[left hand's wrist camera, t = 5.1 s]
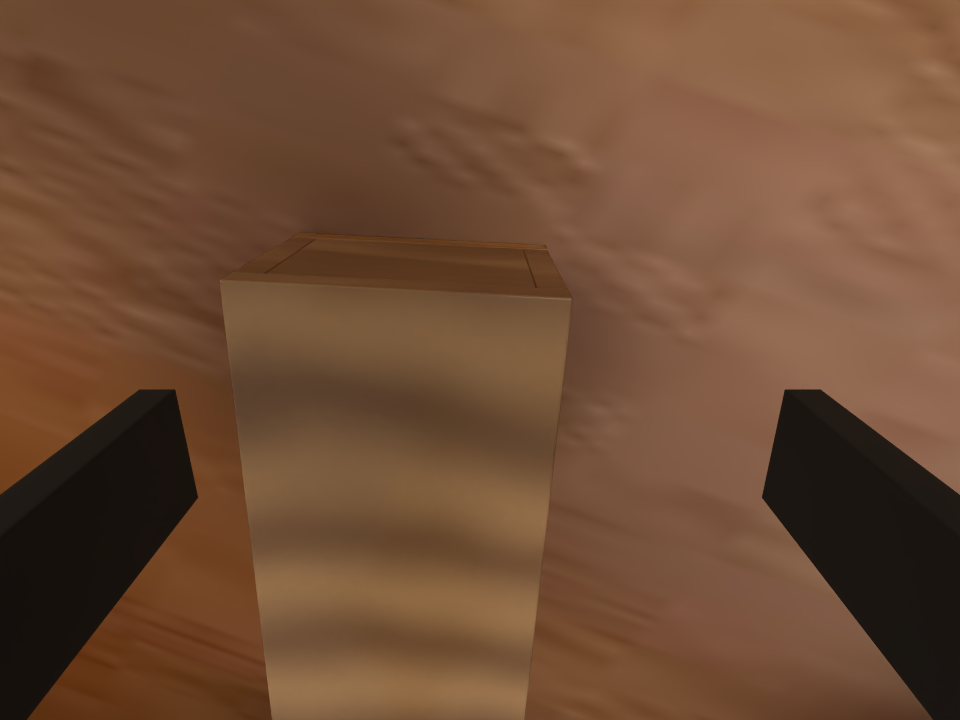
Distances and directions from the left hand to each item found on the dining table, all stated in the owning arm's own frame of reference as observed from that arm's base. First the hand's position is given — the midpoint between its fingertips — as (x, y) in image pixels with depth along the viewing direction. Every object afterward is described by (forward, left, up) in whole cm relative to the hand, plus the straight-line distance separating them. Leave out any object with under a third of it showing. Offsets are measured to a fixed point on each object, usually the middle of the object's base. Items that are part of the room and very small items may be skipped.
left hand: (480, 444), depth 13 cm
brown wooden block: (+1, -9, -15) cm, 17 cm away
